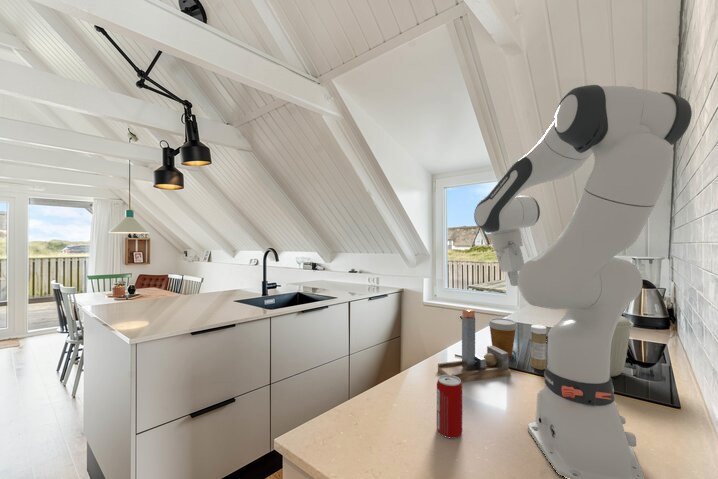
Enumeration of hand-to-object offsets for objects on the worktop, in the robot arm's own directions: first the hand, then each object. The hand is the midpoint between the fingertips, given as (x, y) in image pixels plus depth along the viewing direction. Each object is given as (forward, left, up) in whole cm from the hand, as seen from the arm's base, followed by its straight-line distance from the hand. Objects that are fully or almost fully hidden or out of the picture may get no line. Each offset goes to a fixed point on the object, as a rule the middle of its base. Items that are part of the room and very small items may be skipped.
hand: (514, 285), depth 105 cm
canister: (+8, -25, -27) cm, 38 cm away
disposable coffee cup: (+14, +2, -27) cm, 31 cm away
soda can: (-40, +18, -27) cm, 52 cm away
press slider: (-7, +13, -25) cm, 29 cm away
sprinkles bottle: (+5, -8, -27) cm, 29 cm away
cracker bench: (-6, +12, -27) cm, 30 cm away
